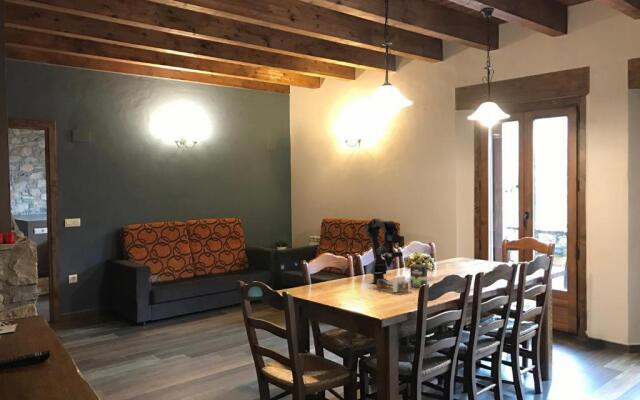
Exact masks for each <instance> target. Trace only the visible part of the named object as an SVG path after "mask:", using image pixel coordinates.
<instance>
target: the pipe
mask: <svg viewBox="0 0 640 400" xmlns="http://www.w3.org/2000/svg"><path fill="white" fill-rule="evenodd" d="M381 284H384V285H386V286H387V287H393V280H390V279H389V280H388V279H386V280H384V279H382V280H381ZM399 284H400V282H398V288H399ZM403 287H406V284H405V285H404V284H403ZM404 289H405V288H404ZM392 293H395V292H392ZM392 293H391V294H392Z"/></svg>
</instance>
